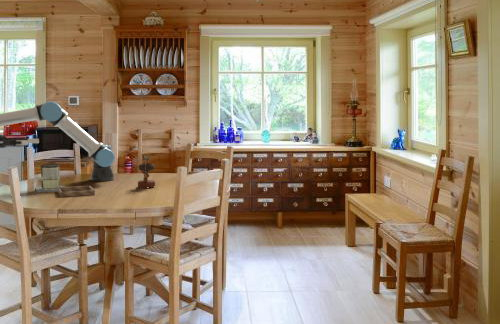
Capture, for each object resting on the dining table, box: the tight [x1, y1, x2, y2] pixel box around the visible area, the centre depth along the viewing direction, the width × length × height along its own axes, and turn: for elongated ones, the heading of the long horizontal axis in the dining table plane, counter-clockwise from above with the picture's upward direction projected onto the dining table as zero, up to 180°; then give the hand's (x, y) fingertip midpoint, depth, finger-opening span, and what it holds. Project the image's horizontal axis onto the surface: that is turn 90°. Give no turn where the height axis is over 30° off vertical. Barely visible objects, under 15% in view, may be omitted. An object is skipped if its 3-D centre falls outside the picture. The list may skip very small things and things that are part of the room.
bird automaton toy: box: [137, 154, 156, 189], centre depth 312 cm, size 15×11×20 cm
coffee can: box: [39, 163, 61, 190], centre depth 299 cm, size 10×10×14 cm
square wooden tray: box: [57, 185, 96, 198], centre depth 289 cm, size 18×18×2 cm
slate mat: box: [35, 185, 66, 194], centre depth 300 cm, size 16×16×1 cm
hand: (33, 141), depth 298 cm, fingers open, 13 cm apart
